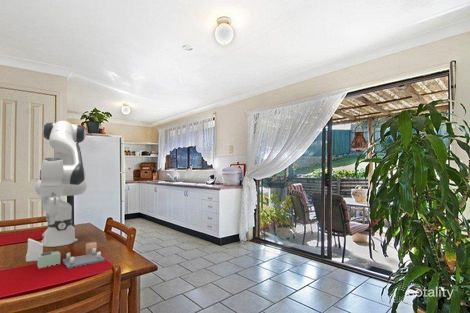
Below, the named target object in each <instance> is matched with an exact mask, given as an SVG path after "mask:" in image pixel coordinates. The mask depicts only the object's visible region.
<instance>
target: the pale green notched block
mask: <svg viewBox="0 0 470 313" xmlns="http://www.w3.org/2000/svg"><path fill="white" fill-rule="evenodd" d="M61 257H62V256H61V252H60V251H59V250H56V251H47V252H43V253H41V254H38V260H37V263H36V264H37V268H38V269H43V268H47V266H48V267H52V266H51V265H53V266H57V265H56V264H58V265H61Z"/></svg>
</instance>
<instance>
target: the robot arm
mask: <svg viewBox="0 0 470 313" xmlns="http://www.w3.org/2000/svg"><path fill="white" fill-rule="evenodd" d="M42 135H43V137H44V139H45V140H47V141H49V142H48V143H49V146H50V147H51V148H52V149H53V150H54V152H53V157H45V158H44V159H43V160H42V163H41V168H40V170H39V179H38V180H37V181H36V183H35V186H34V190H35V192H36V194H37V195H38V196H39V198H42V199H41V200H42V210H43V211H44V212H45V217H46V219H45V220H46V221H47V229H46V230H45V231H44V232H43V233H42V236H41V237H42V238H43V239H41V241H40V243H42V244H43V247H48V248H49V247H50V248H52V247H54V248H55V247H63V246H68V245H71V244H73V243H75V242H78V241H79V239H78V238H77V237H76V232H75V230H76V228H75V227H74V226H73V218H72V212H73V211H72V210H73V209H72V208H73V206H72V205H71V203H69V202H67V201H65V200H62V198H61V197H63V196H64V197H65V196H66V197H68V196H69V197H70V196H71V197H72V196H78V195H83V194H84V193H85V191H86V190H87V182H86V180H85V179H86V175H87V174H86V170H85V167H84V162H83V156H82V152H81V147H80V144H79V143H83V142H84V141H85V138H87V130H86V128H85V127H84V126H83V125H82V124H74V123H71V122H69V121H67V120H59V121H56V122H54V123H53V122H47V123H45V124H44V126H43V128H42Z"/></svg>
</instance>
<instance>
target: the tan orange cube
mask: <svg viewBox="0 0 470 313" xmlns="http://www.w3.org/2000/svg"><path fill="white" fill-rule="evenodd" d="M97 244H98V243H97V242H96V241H90V242H86V243H85V255H87V254H92V249H93V248H96V250H97Z"/></svg>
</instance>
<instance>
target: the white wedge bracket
mask: <svg viewBox="0 0 470 313" xmlns="http://www.w3.org/2000/svg"><path fill="white" fill-rule="evenodd" d="M41 253H44V246H43V244H42V243H41V241H40V242H39V241H37V240H34V239H32V238H27V252H26V255H25V263H26V262H35V261H38V254H41Z"/></svg>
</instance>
